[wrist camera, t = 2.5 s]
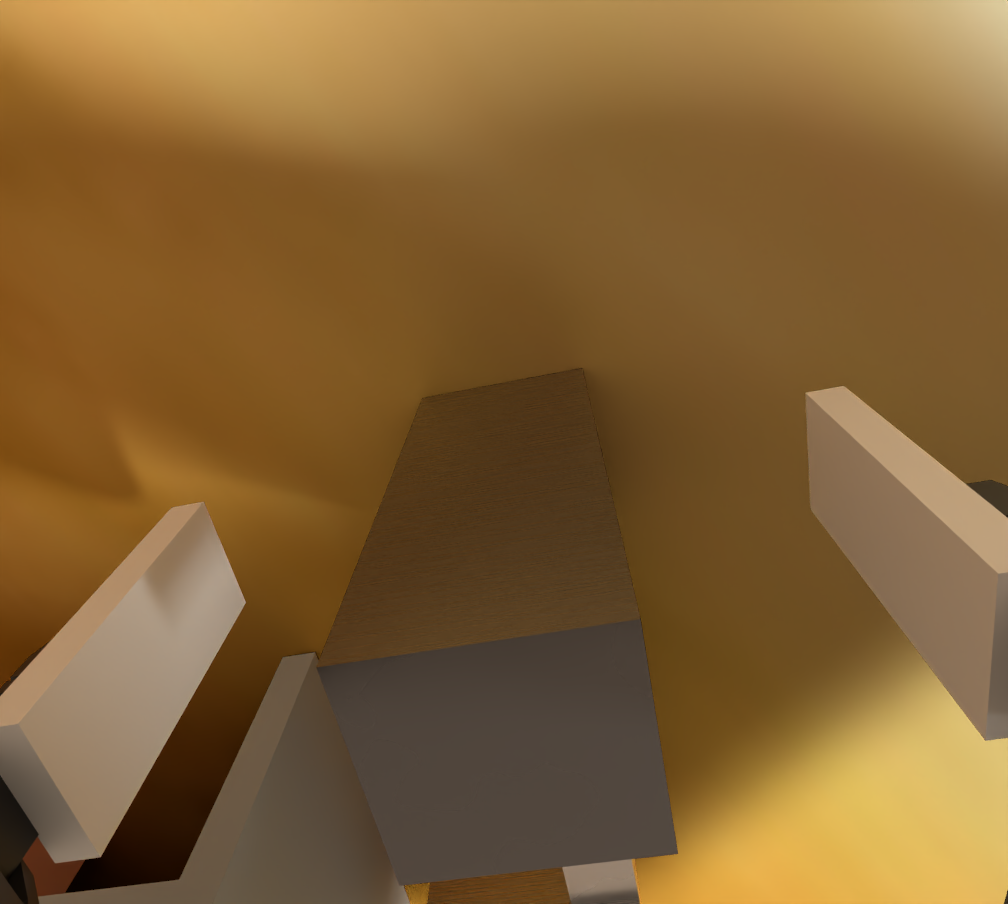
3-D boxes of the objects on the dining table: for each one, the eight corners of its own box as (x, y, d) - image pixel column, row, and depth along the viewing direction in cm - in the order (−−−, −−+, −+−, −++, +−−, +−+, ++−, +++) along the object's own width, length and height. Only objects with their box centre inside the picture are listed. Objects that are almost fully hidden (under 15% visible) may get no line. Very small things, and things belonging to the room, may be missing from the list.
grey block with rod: (582, 368, 18) (641, 618, 9) (664, 852, 24) (747, 1287, 15) (288, 423, 19) (56, 705, 9) (444, 877, 25) (397, 1305, 16)
